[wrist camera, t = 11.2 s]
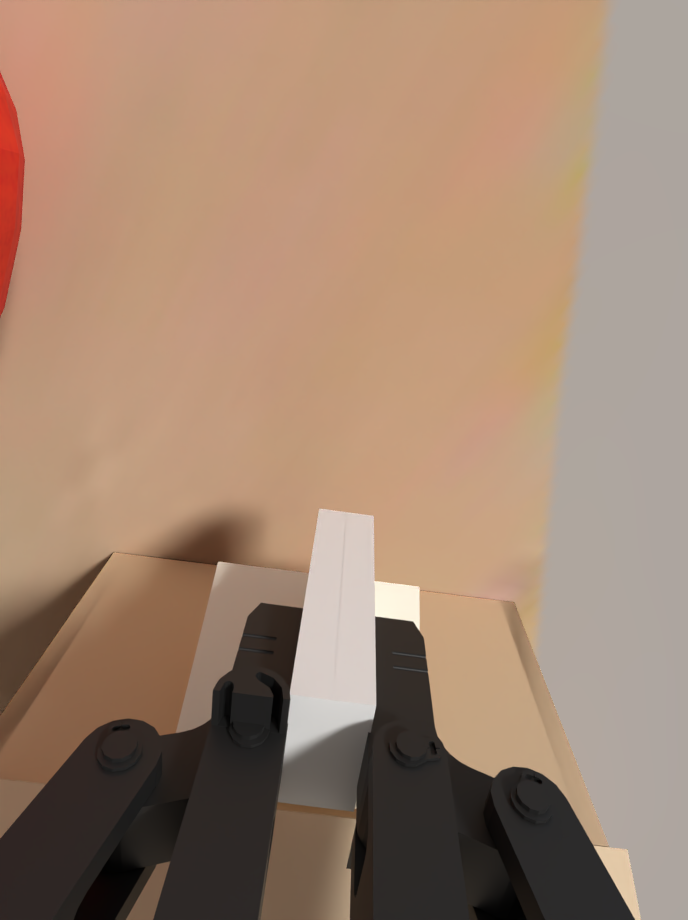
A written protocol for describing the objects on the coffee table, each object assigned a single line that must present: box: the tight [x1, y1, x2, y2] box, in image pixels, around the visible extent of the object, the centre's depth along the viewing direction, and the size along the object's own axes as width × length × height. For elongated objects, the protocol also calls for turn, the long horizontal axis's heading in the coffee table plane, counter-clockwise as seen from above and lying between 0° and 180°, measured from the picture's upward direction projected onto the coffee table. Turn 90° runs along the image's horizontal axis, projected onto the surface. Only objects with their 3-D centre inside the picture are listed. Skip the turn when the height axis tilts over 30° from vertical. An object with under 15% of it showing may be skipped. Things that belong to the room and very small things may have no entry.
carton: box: [0, 552, 609, 847], centre depth 22 cm, size 16×16×10 cm
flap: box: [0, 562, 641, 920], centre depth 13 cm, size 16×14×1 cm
